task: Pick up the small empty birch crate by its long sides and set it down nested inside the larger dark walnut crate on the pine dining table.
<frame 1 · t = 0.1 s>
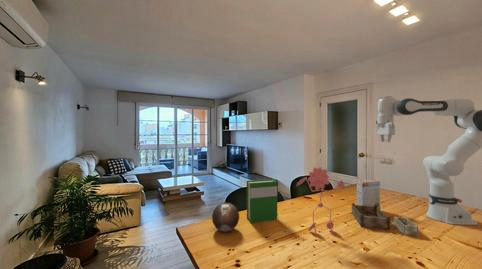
hand: (385, 141, 139), 48 cm above the table, fingers open, 8 cm apart
hardback book: (261, 219, 131), on the table
birch crate: (405, 230, 115), on the table
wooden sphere: (225, 230, 116), on the table
figurine: (318, 229, 116), on the table
walnut crate: (369, 220, 128), on the table
cracker box: (368, 210, 145), on the table
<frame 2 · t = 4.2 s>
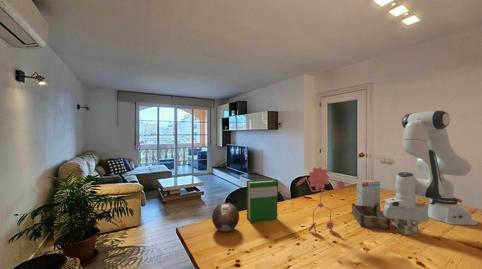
hand: (405, 227, 115), 2 cm above the table, fingers closed on birch crate, 6 cm apart
birch crate: (405, 230, 115), on the table, touching gripper
everything else where it was.
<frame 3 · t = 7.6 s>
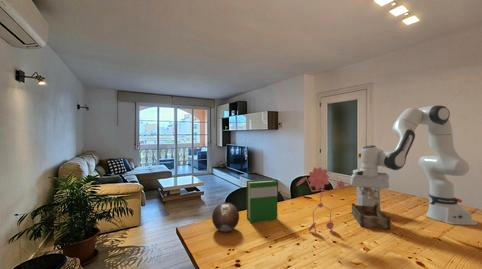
hand: (369, 194, 127), 16 cm above the table, fingers closed on birch crate, 6 cm apart
birch crate: (369, 197, 127), point 14 cm above the table, touching gripper
everything else where it was.
when the fingers open (4 cm above the table, at t = 10.6 s): birch crate drops 1 cm, resting on walnut crate.
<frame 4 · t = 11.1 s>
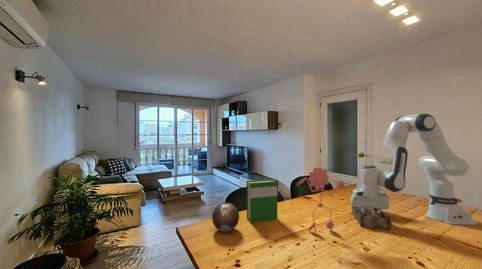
hand: (369, 214, 127), 4 cm above the table, fingers open, 8 cm apart
birch crate: (369, 219, 127), point 1 cm above the table, touching walnut crate
everything else where it was.
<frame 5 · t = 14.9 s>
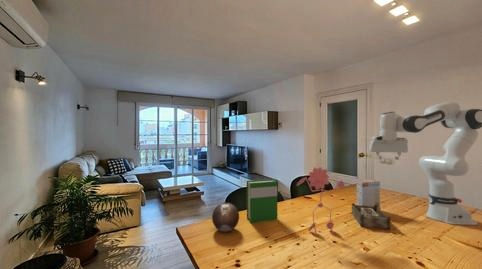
hand: (388, 159, 132), 37 cm above the table, fingers open, 8 cm apart
nothing on the table moved.
at the end: birch crate inside the target area on the walnut crate (0.1 cm from its centre), point 0.8 cm above the walnut crate's base; birch crate tilted 0°; the gripper is holding nothing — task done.
